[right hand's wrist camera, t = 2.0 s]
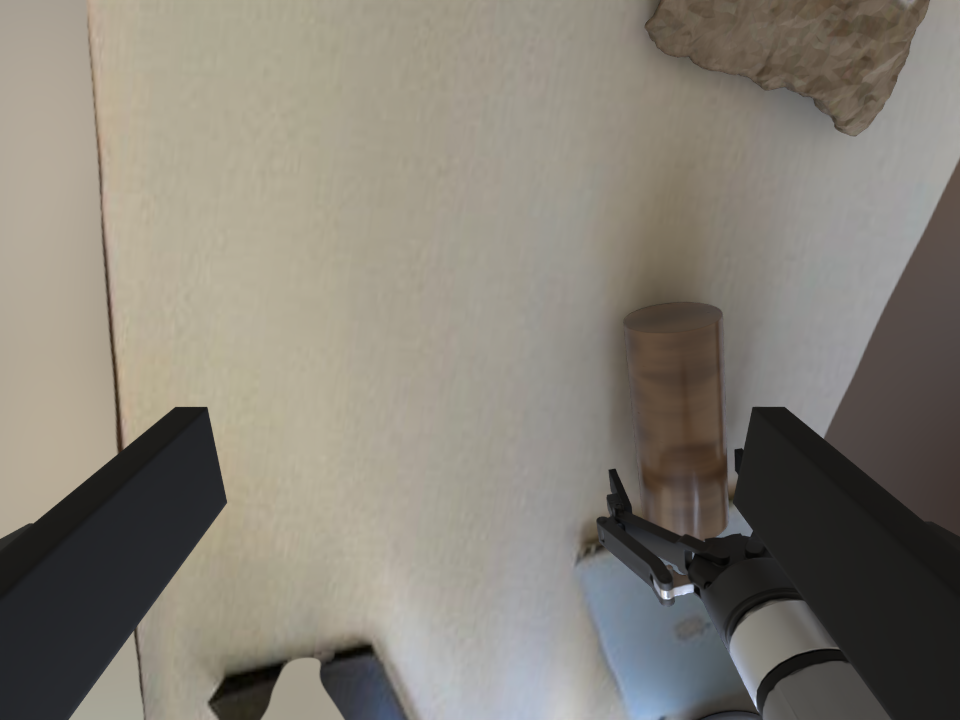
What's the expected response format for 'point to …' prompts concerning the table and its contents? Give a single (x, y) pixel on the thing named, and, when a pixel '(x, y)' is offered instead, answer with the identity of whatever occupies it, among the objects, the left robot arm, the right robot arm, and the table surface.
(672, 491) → the rod
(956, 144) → the table surface
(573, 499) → the table surface
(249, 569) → the table surface
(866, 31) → the stone
